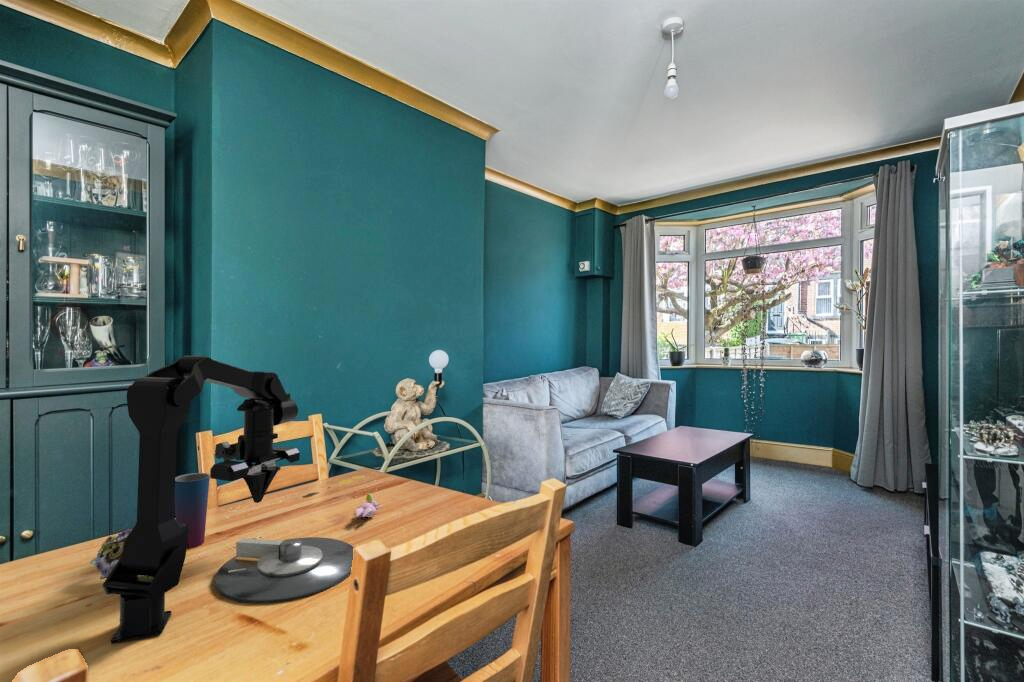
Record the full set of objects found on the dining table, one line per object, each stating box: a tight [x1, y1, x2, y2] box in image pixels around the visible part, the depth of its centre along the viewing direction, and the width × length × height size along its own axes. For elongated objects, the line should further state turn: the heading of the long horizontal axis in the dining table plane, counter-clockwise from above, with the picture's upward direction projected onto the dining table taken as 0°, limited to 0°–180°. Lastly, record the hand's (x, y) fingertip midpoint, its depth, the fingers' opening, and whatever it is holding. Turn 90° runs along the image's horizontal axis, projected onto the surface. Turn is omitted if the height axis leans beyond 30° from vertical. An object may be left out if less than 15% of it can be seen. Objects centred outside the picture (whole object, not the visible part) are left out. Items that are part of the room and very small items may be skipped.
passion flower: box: [90, 528, 154, 580], centre depth 95 cm, size 11×11×12 cm
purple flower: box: [354, 493, 382, 518], centre depth 128 cm, size 6×6×15 cm
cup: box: [174, 472, 211, 549], centre depth 109 cm, size 7×7×15 cm
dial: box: [235, 537, 323, 576], centre depth 99 cm, size 17×12×4 cm
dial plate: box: [214, 536, 355, 604], centre depth 99 cm, size 26×26×1 cm
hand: (257, 502), depth 105 cm, fingers closed
